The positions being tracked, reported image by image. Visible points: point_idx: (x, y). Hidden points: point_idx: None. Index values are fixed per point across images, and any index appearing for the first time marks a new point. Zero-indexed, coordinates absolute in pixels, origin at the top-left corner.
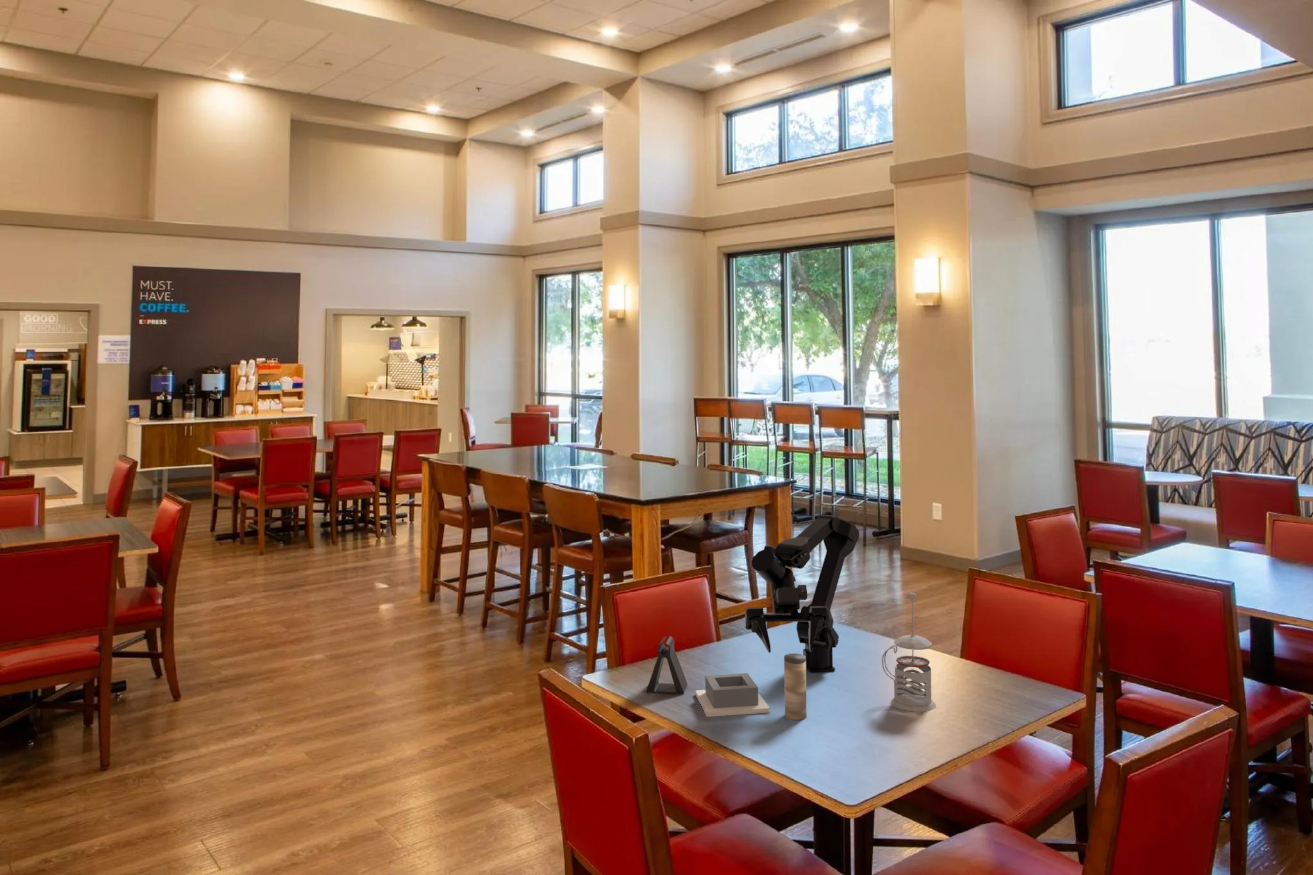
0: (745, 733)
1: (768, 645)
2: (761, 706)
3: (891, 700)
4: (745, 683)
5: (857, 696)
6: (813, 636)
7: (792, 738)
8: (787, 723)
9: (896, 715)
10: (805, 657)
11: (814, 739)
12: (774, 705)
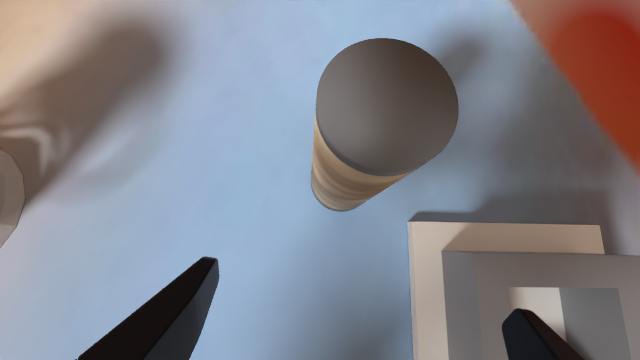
0: (493, 100)
1: (559, 344)
2: (433, 238)
3: (2, 238)
4: None
5: (87, 304)
6: (106, 349)
7: None
8: None
9: (63, 128)
10: (324, 71)
11: (340, 36)
12: (379, 277)
